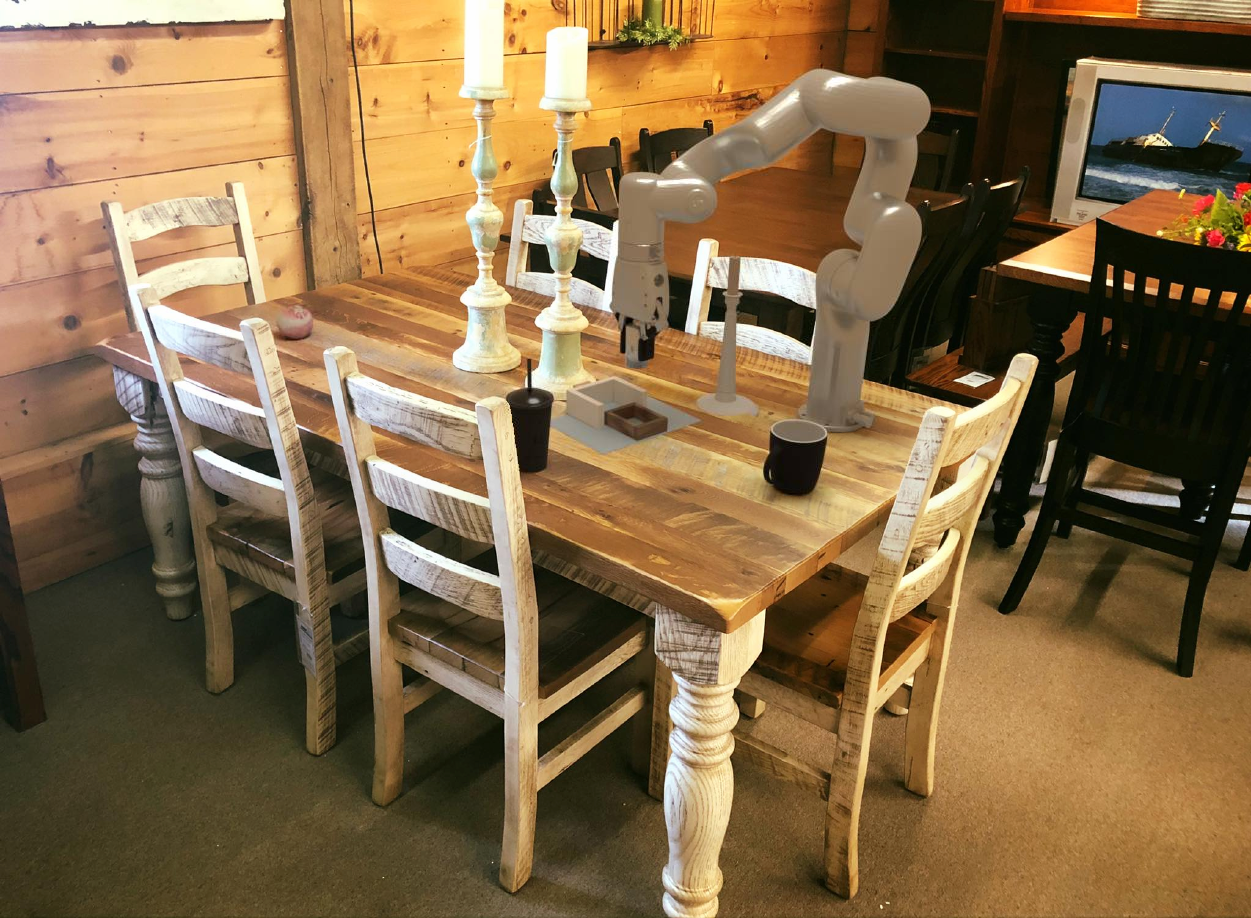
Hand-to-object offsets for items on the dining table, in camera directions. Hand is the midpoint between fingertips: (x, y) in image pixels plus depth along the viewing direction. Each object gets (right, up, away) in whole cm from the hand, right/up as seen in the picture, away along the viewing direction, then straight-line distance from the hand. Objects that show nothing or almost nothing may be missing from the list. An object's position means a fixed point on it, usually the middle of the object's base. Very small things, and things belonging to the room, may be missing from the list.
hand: (636, 354), depth 181 cm
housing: (-6, -9, +13) cm, 17 cm away
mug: (+24, -23, -11) cm, 35 cm away
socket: (0, -12, +6) cm, 14 cm away
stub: (0, -2, +1) cm, 2 cm away
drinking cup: (-17, -21, -8) cm, 28 cm away
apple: (-74, +9, +50) cm, 90 cm away
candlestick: (+17, -9, +18) cm, 26 cm away
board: (-2, -12, +9) cm, 16 cm away
